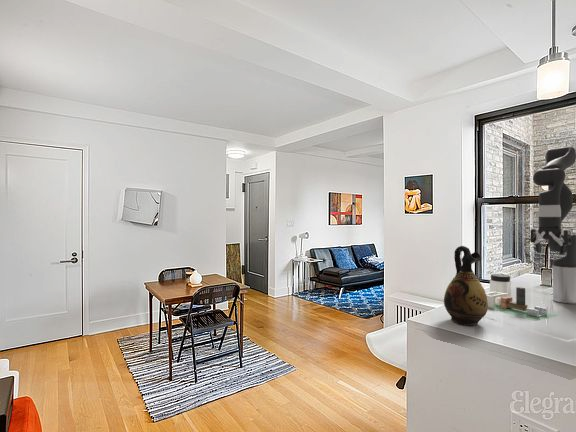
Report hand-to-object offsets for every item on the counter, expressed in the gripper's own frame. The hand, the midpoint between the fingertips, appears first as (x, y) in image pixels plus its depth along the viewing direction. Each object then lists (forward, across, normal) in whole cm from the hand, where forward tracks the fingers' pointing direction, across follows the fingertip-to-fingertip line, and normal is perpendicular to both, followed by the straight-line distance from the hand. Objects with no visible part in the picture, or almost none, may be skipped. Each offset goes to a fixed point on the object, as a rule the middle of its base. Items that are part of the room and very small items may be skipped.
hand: (550, 253), depth 139 cm
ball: (+23, +15, +10) cm, 30 cm away
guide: (+25, 0, +10) cm, 27 cm away
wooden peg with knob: (+25, +9, +10) cm, 28 cm away
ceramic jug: (+25, +8, +43) cm, 50 cm away
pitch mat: (+26, +9, +10) cm, 29 cm away
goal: (+25, +18, +10) cm, 32 cm away
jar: (+26, +25, -5) cm, 36 cm away
